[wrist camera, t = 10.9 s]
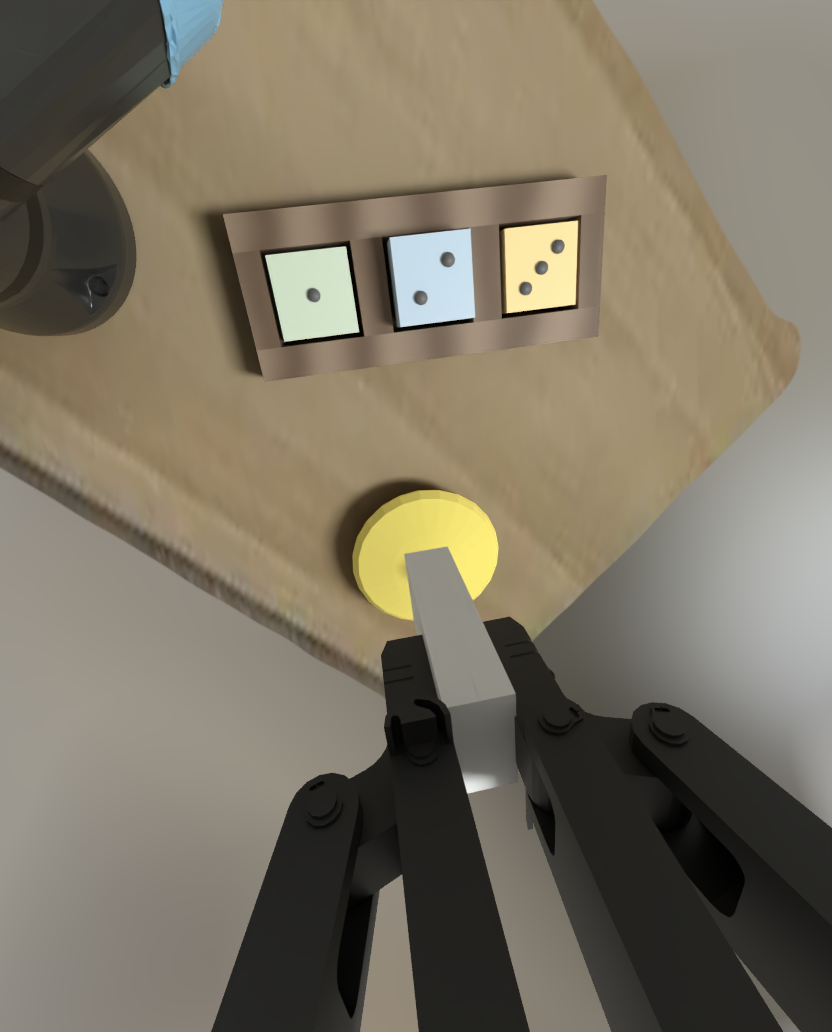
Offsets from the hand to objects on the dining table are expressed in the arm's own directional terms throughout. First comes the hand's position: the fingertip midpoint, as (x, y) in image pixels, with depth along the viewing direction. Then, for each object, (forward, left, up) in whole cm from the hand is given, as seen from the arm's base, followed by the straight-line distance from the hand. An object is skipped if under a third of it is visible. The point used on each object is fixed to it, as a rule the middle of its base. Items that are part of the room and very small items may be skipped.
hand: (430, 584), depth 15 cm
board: (+6, +11, -30) cm, 33 cm away
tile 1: (-4, +11, -30) cm, 32 cm away
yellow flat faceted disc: (+3, -15, -31) cm, 34 cm away
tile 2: (+6, +11, -28) cm, 31 cm away
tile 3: (+15, +11, -30) cm, 36 cm away
